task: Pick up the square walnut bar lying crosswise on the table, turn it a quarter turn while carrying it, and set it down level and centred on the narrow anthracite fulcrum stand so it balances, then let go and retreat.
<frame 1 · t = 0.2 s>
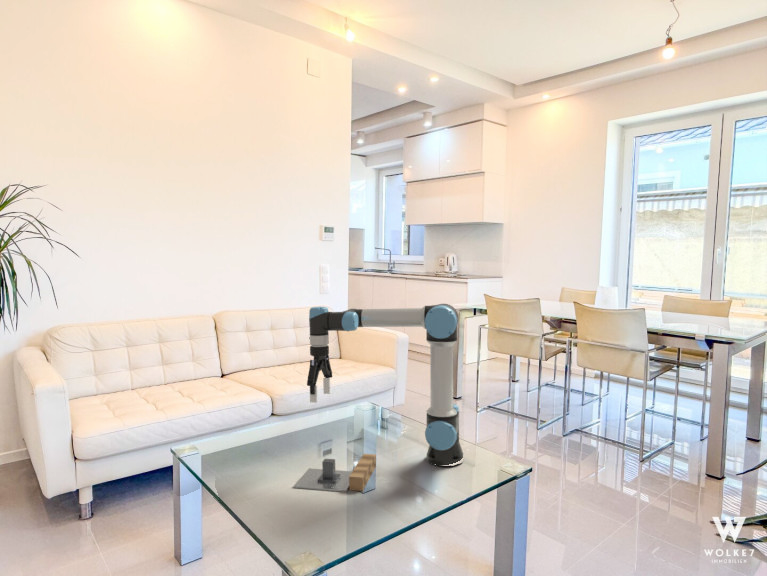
hand: (320, 397, 194), 27 cm above the table, fingers open, 13 cm apart
walnut bar: (363, 478, 183), on the table, touching smartphone
smartphone: (356, 482, 180), on the table, touching walnut bar
fulcrum: (329, 480, 180), on the table
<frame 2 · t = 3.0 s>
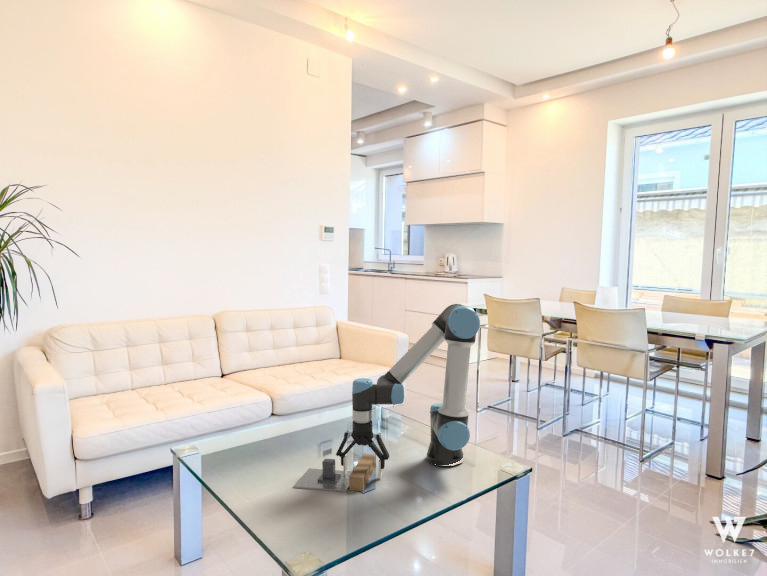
hand: (362, 475, 183), 1 cm above the table, fingers open, 13 cm apart
nothing on the table moved.
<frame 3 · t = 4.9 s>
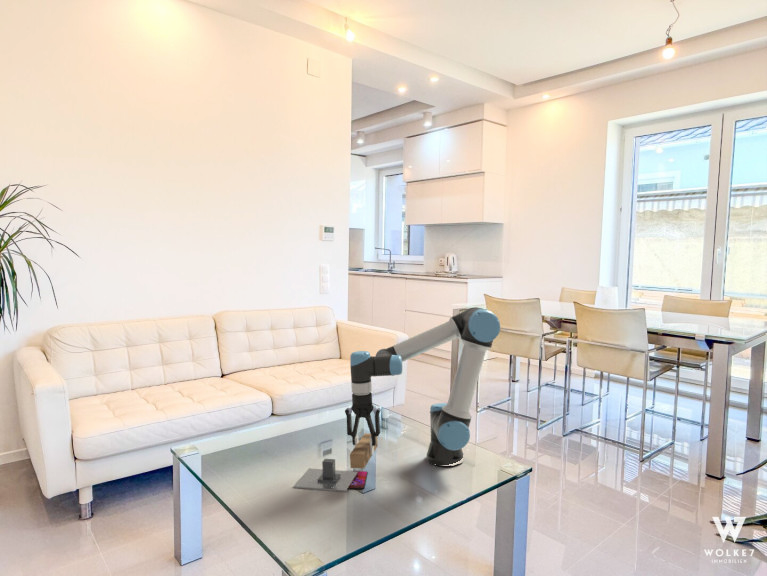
hand: (364, 453, 182), 9 cm above the table, fingers closed on walnut bar, 5 cm apart
walnut bar: (364, 456, 182), point 8 cm above the table, touching gripper
smartphone: (356, 482, 180), on the table
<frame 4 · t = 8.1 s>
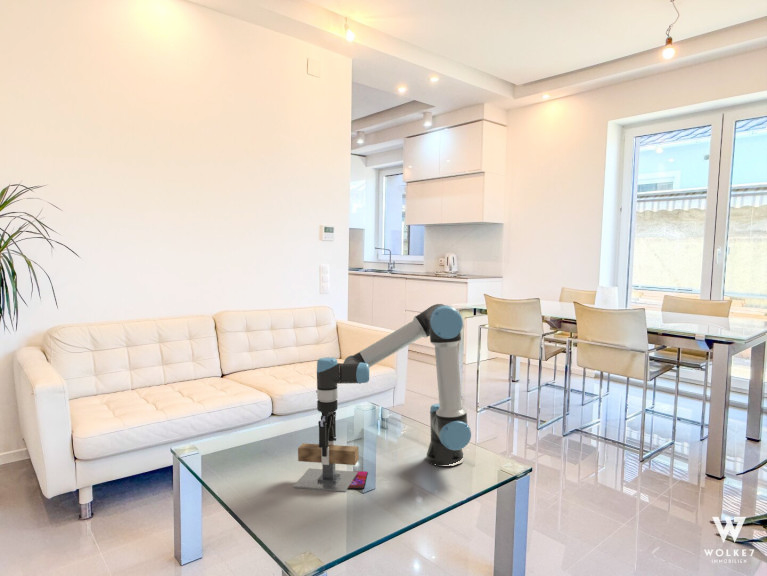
hand: (327, 461, 180), 7 cm above the table, fingers closed on walnut bar, 5 cm apart
walnut bar: (328, 460, 180), point 8 cm above the table, touching fulcrum, gripper
everything else where it was.
when the fingers open (7 cm above the table, at t = 8.5 s): walnut bar stays where it is, resting on fulcrum.
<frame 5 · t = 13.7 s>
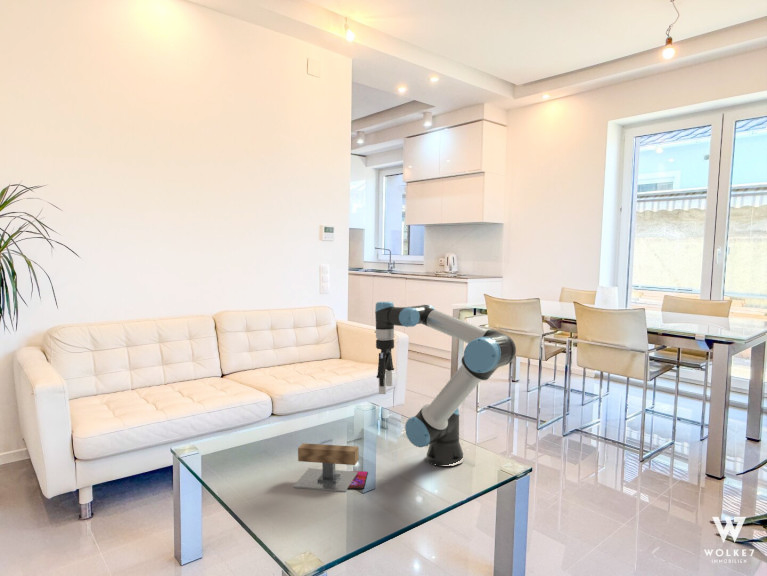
hand: (385, 389, 200), 29 cm above the table, fingers open, 13 cm apart
walnut bar: (328, 460, 180), point 8 cm above the table, touching fulcrum
everything else where it was.
at the end: walnut bar 0.1 cm off-centre on the fulcrum, point 7.6 cm above the fulcrum's base; walnut bar tilted 0°; walnut bar touching fulcrum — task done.
